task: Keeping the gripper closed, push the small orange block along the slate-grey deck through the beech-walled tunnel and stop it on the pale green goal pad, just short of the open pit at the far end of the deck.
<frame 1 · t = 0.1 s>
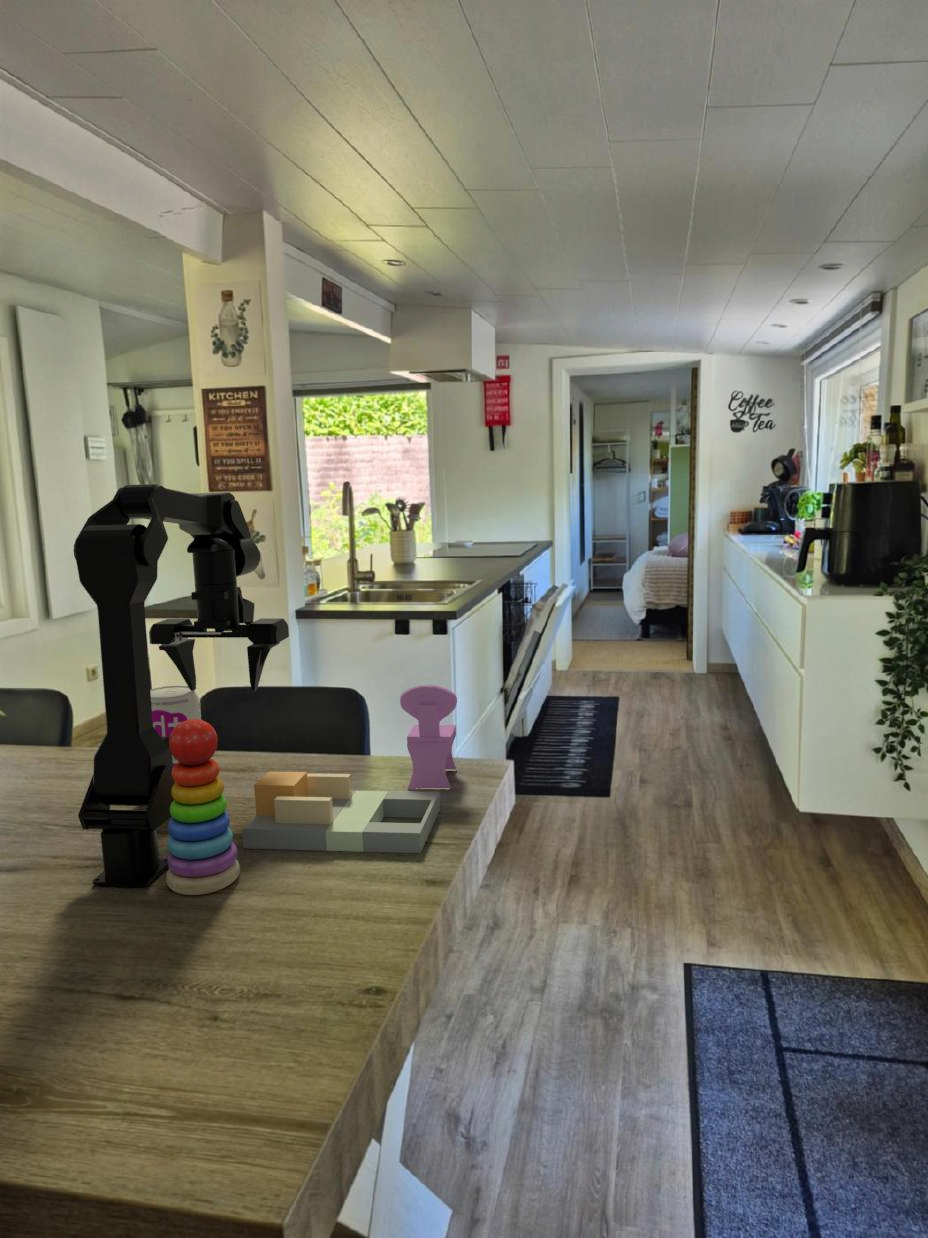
hand: (223, 690, 124), 15 cm above the table, tool pointing down, fingers open, 9 cm apart
block: (283, 808, 111), point 2 cm above the table, touching tunnel board
tunnel board: (346, 828, 111), on the table
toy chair: (433, 781, 128), on the table
supplement can: (176, 792, 127), on the table, touching gripper
stacking toy: (204, 883, 97), on the table
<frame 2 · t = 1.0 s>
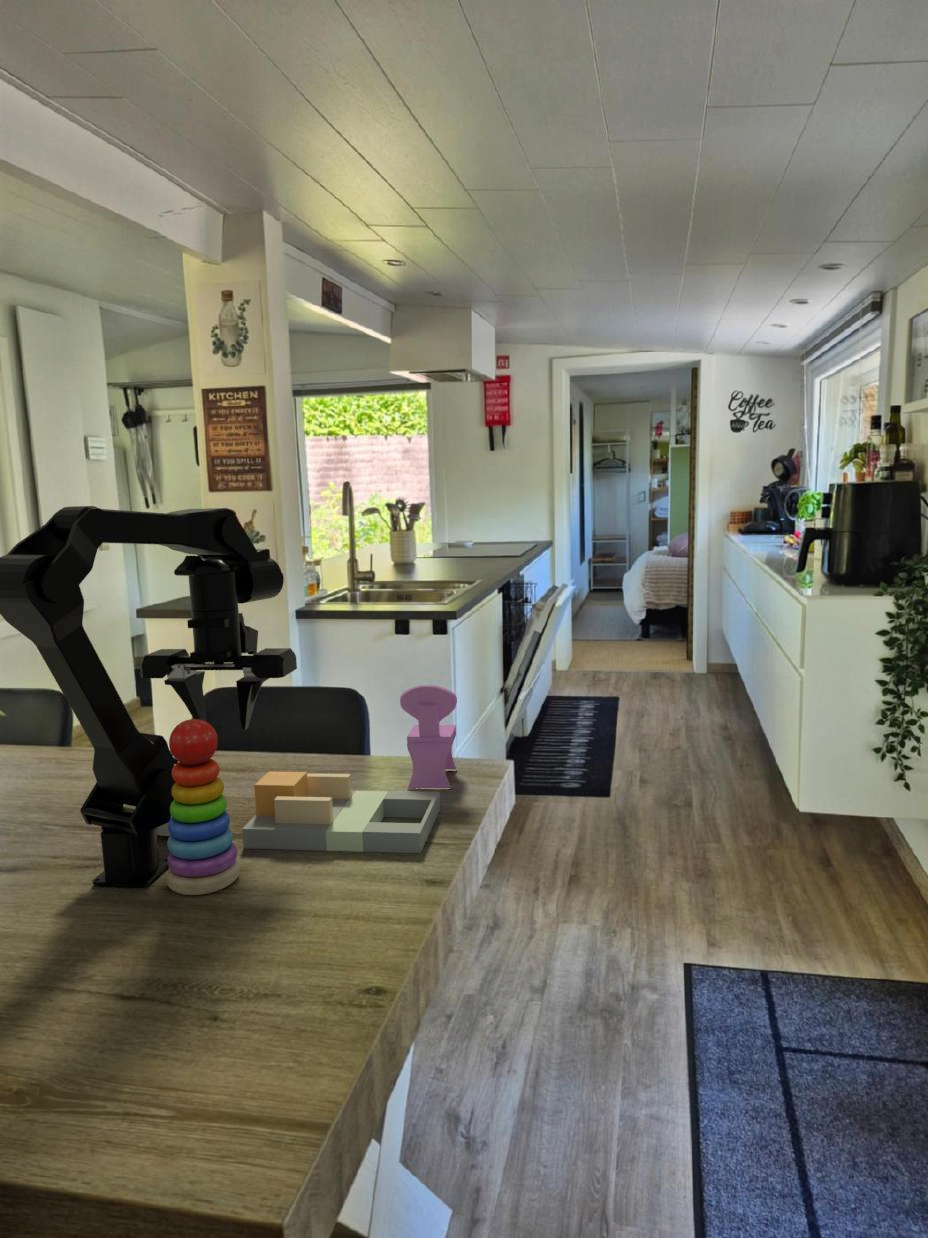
hand: (224, 729, 111), 13 cm above the table, tool pointing down, fingers open, 5 cm apart
supplement can: (176, 771, 122), point 4 cm above the table
everything else where it was.
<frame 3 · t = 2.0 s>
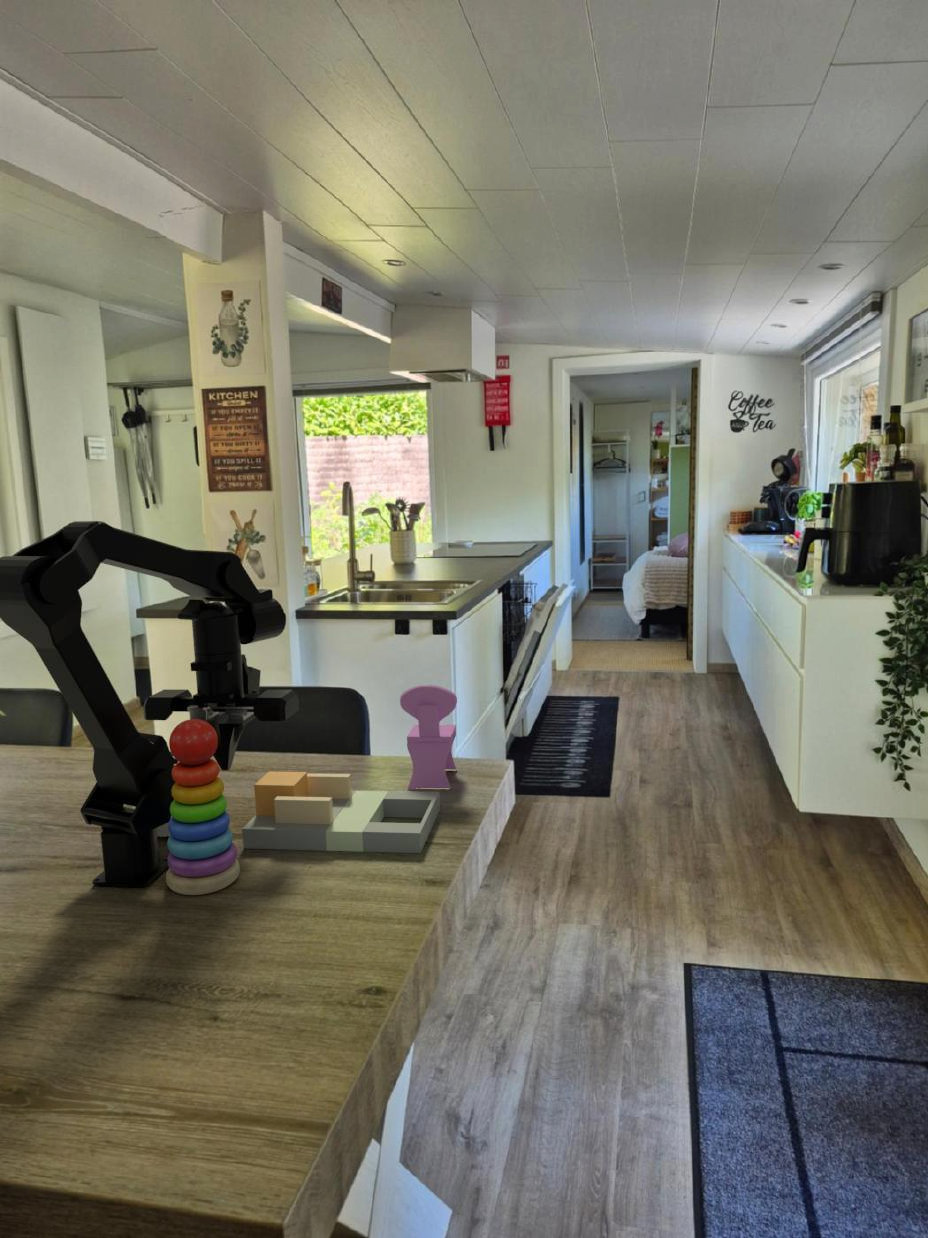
hand: (226, 769, 112), 8 cm above the table, tool pointing down, fingers closed
nothing on the table moved.
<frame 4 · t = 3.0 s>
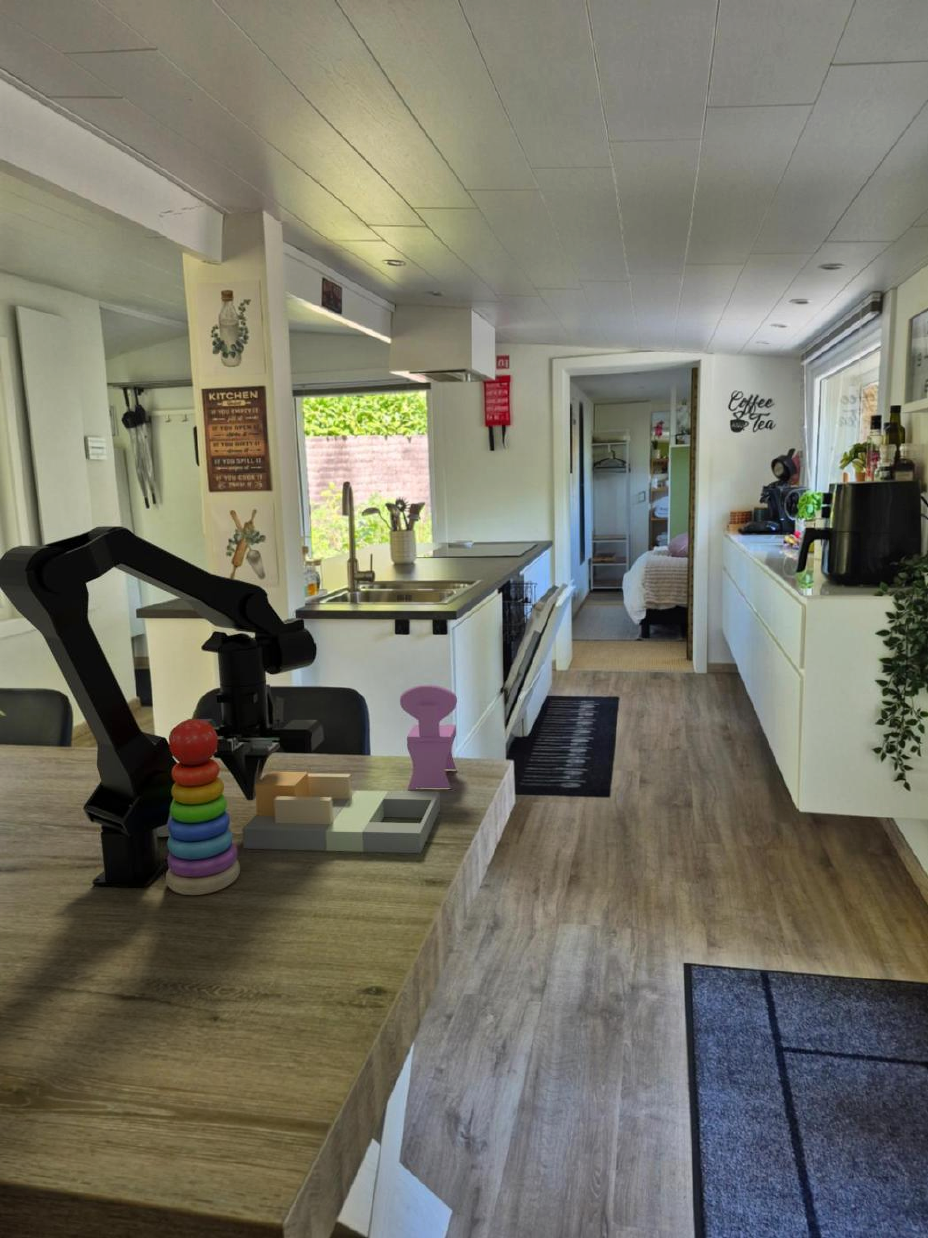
hand: (251, 799, 112), 4 cm above the table, tool pointing down, fingers closed
block: (283, 808, 111), point 3 cm above the table, touching gripper
everything else where it was.
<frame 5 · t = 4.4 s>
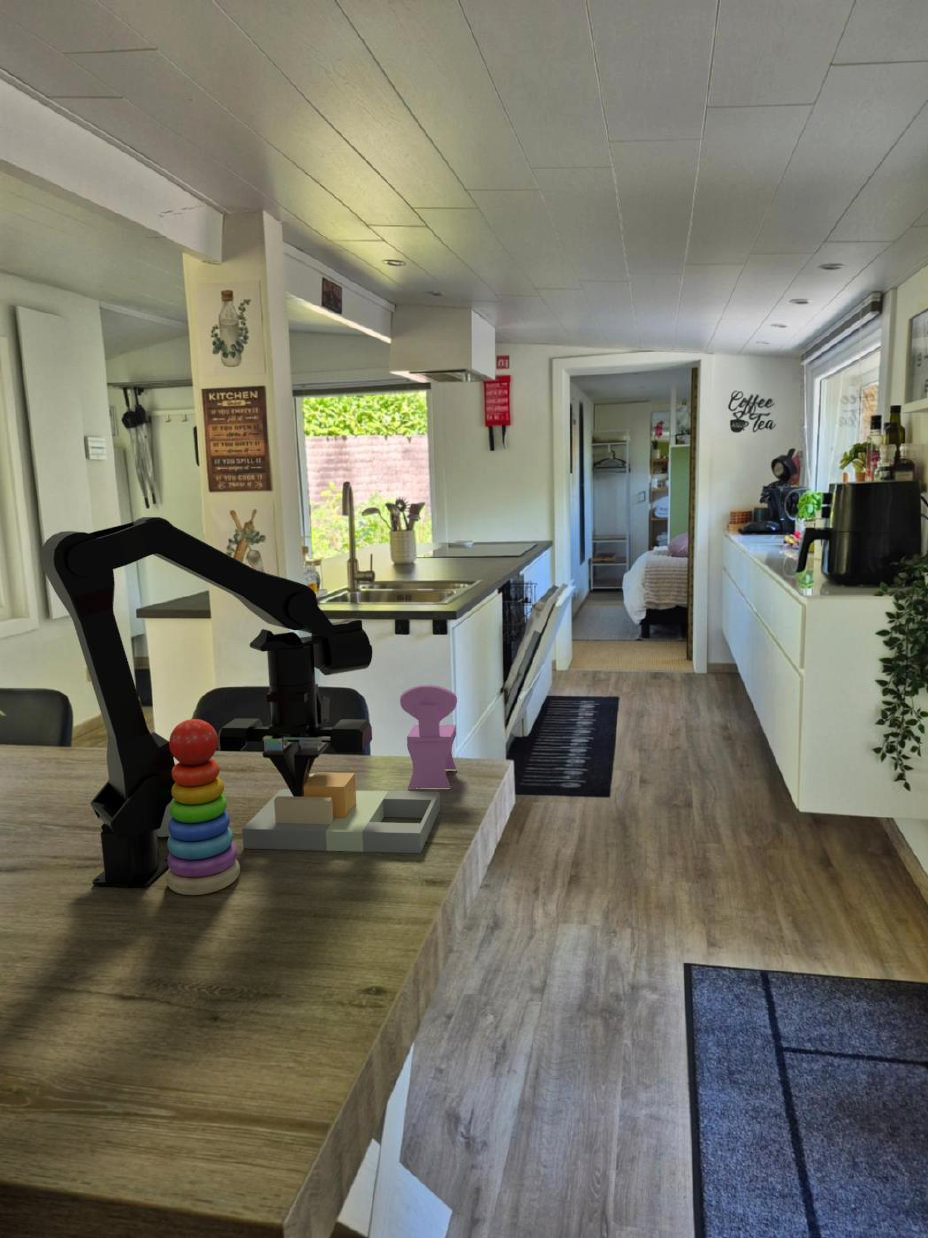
hand: (299, 799, 111), 4 cm above the table, tool pointing down, fingers closed
block: (331, 809, 110), point 3 cm above the table, touching gripper
everything else where it was.
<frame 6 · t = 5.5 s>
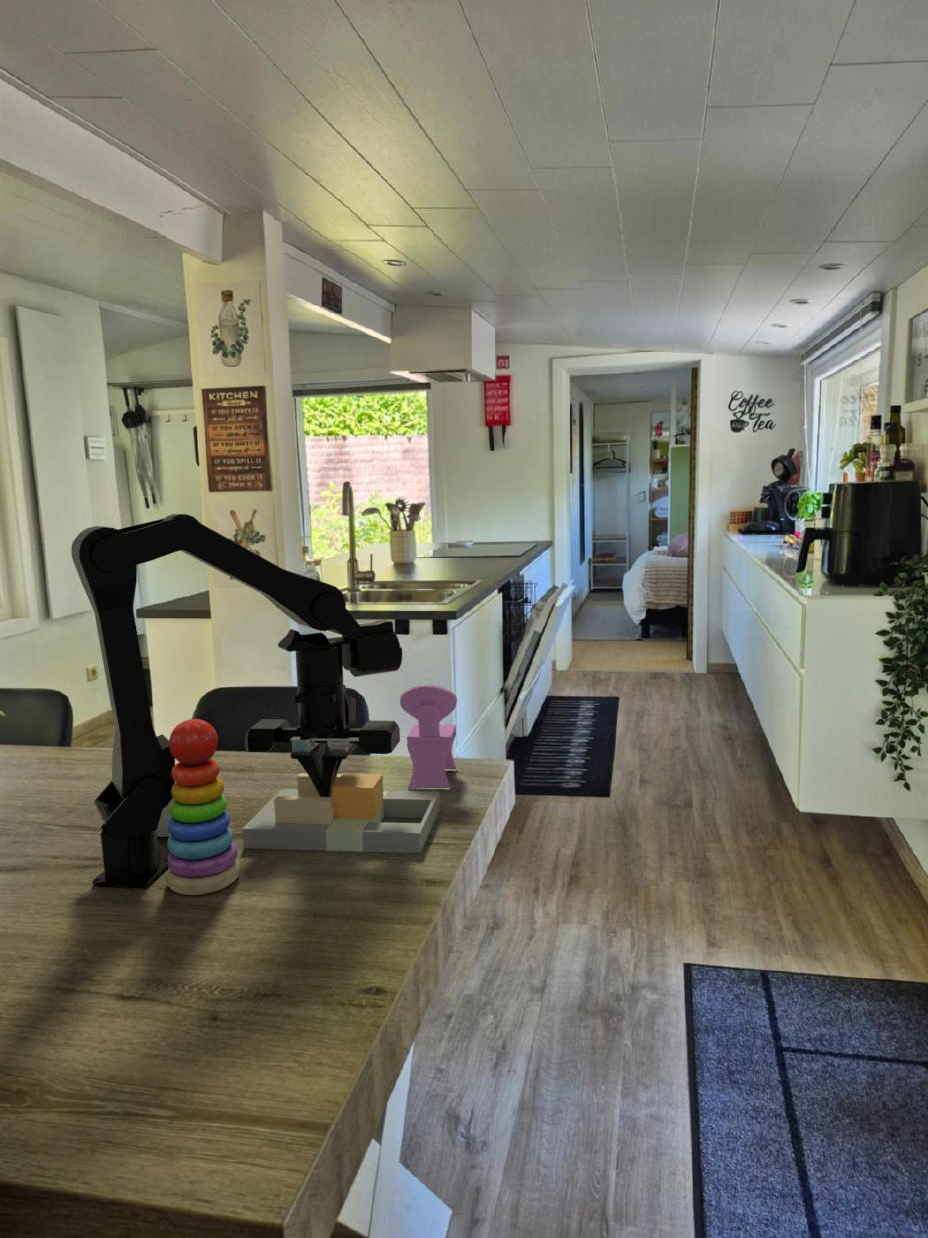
hand: (326, 801, 111), 4 cm above the table, tool pointing down, fingers closed
block: (359, 810, 110), point 2 cm above the table, touching gripper, tunnel board
everything else where it was.
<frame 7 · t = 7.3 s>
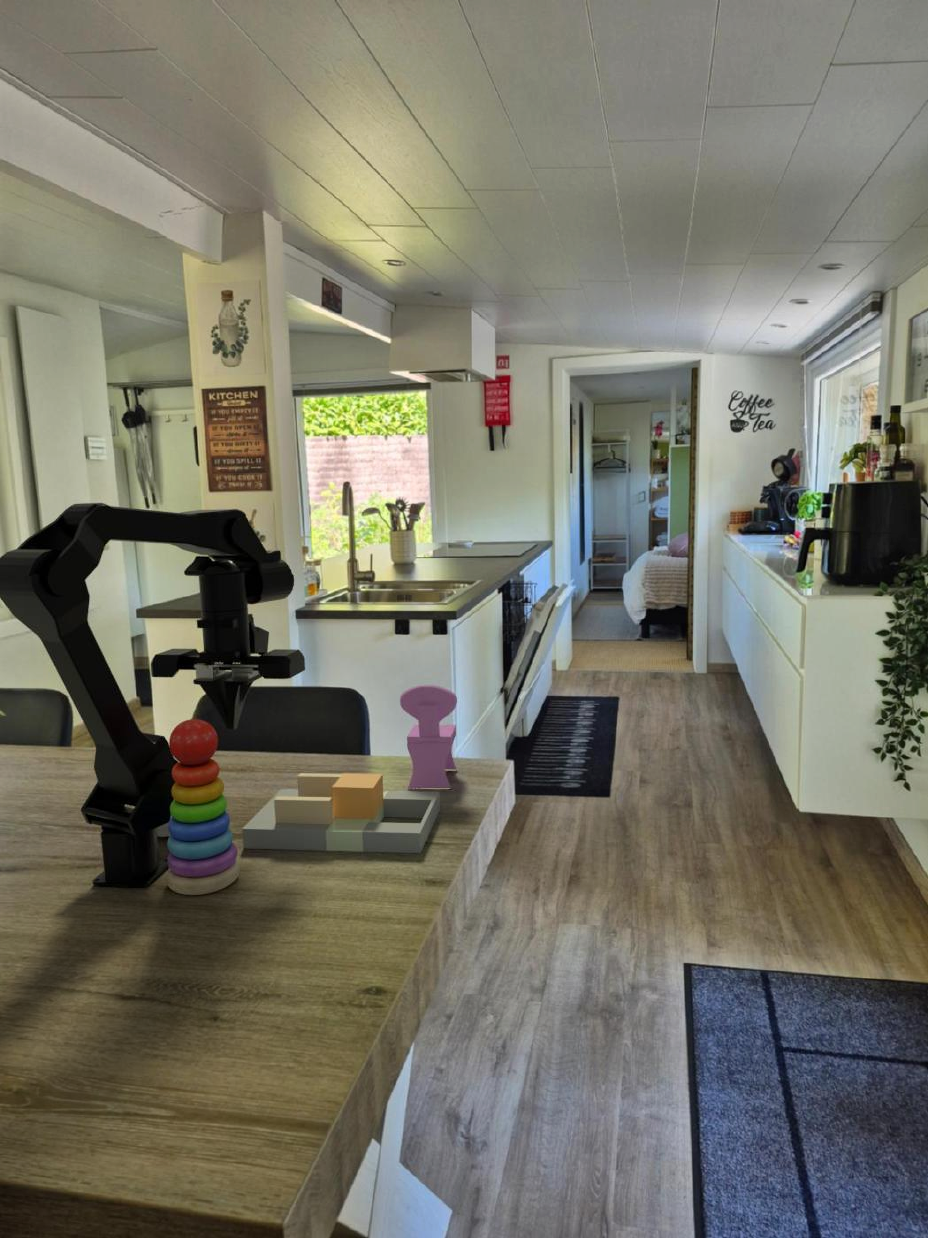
hand: (232, 729, 111), 13 cm above the table, tool pointing down, fingers closed
block: (359, 810, 110), point 2 cm above the table, touching tunnel board
everything else where it was.
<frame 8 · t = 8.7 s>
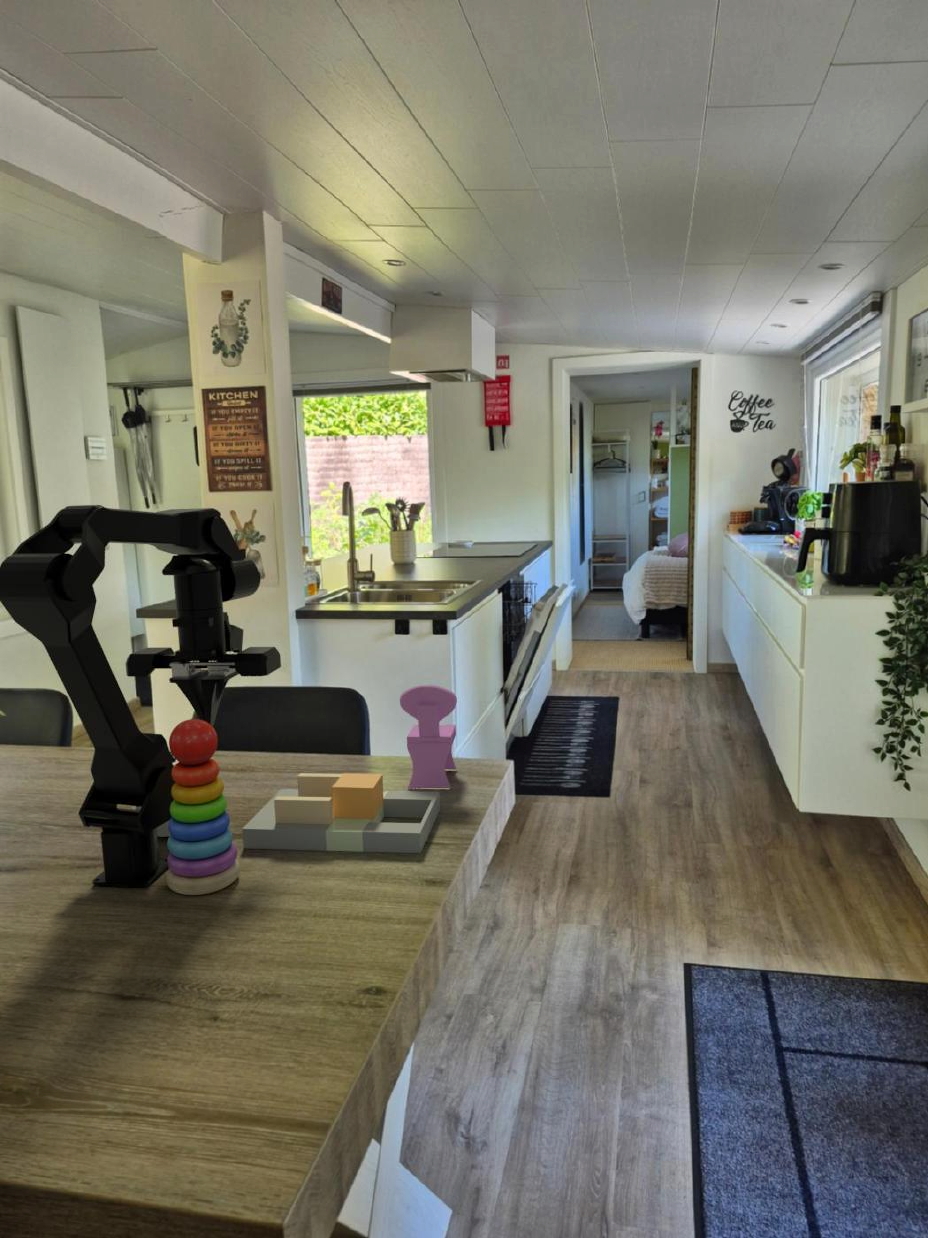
hand: (209, 726, 112), 13 cm above the table, tool pointing down, fingers closed
nothing on the table moved.
at the end: block 0.6 cm from the target spot on the tunnel board, point 2.5 cm above the tunnel board's base; block tilted 1° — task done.
